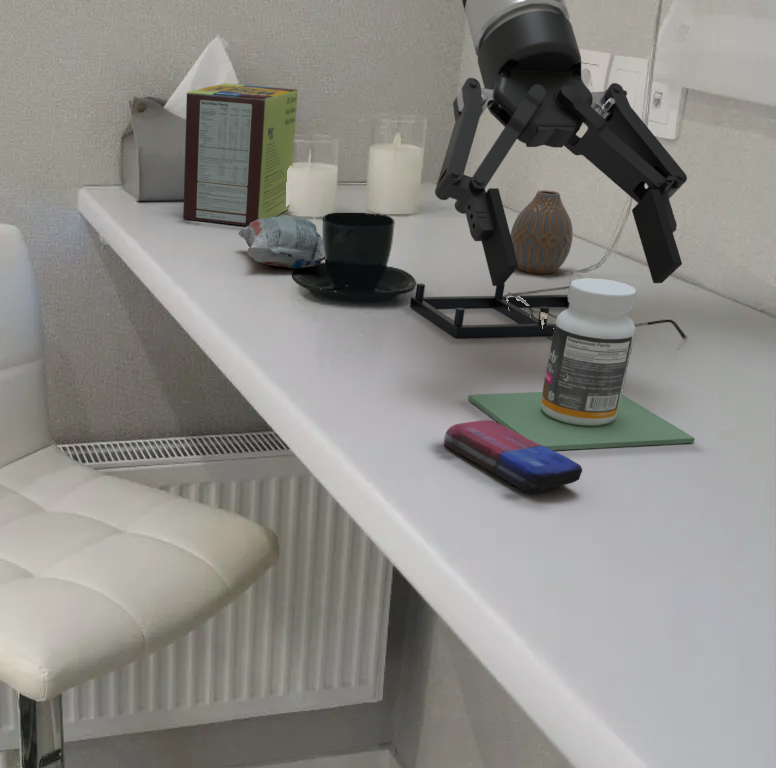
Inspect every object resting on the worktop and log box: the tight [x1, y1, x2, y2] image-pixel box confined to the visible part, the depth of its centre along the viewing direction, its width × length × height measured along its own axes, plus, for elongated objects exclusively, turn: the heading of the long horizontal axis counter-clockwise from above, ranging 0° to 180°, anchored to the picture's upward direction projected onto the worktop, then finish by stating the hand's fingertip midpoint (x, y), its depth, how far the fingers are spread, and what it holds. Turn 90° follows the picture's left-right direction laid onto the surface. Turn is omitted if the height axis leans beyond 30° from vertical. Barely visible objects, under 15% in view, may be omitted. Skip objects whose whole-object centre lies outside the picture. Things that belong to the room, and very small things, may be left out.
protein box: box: [182, 82, 298, 227], centre depth 152 cm, size 10×15×16 cm
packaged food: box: [237, 215, 326, 270], centre depth 130 cm, size 9×12×5 cm
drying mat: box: [467, 391, 696, 451], centre depth 89 cm, size 13×11×1 cm
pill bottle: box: [541, 277, 637, 426], centre depth 86 cm, size 6×6×10 cm
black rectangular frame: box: [409, 281, 572, 339], centre depth 114 cm, size 18×11×2 cm, turn 105°
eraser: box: [443, 419, 583, 495], centre depth 79 cm, size 11×4×2 cm, turn 26°
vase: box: [510, 189, 574, 275], centre depth 133 cm, size 7×7×9 cm
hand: (588, 275), depth 86 cm, fingers open, 13 cm apart
